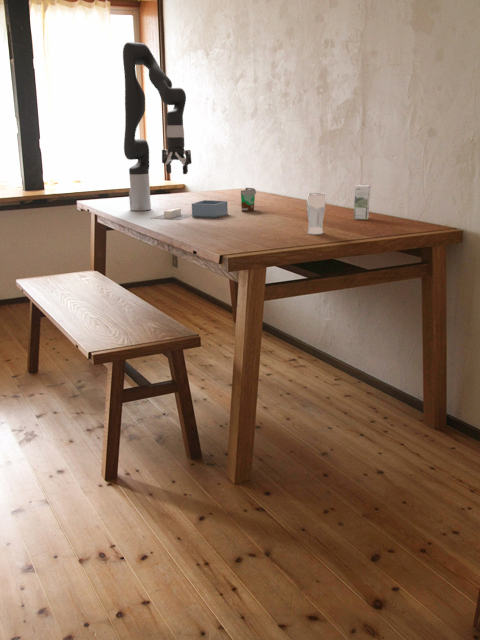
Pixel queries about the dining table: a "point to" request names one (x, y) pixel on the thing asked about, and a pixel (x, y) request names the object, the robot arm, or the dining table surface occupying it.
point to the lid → (172, 215)
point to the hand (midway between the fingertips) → (177, 173)
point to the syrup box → (361, 202)
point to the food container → (248, 199)
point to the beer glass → (315, 212)
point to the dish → (209, 209)
